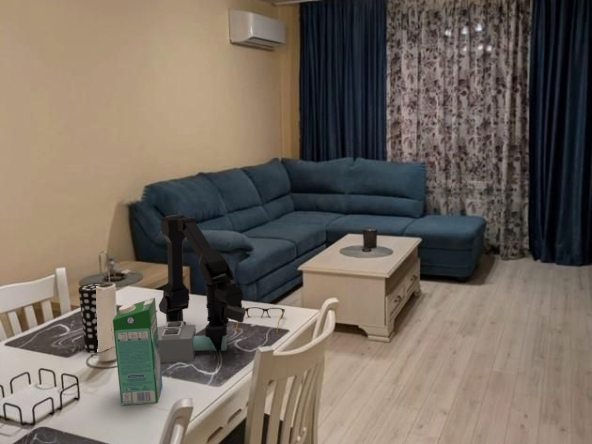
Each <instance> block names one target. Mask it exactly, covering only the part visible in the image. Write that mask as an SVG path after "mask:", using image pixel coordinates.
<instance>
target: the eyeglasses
mask: <svg viewBox="0 0 592 444" xmlns="http://www.w3.org/2000/svg"><path fill="white" fill-rule="evenodd" d="M245 309H246V315H247V317H248V318H249V319H250V318H252V317H251V316H250V315H249V310H250V309H260V310H262V315H261V316H260V318H262V317H263V316H264V313H265V312H266V314H267V316H268V318H269V319H270V318H271V316H270V314H269V310H280V311H281V314H280V317H279V320H278V322H277V326H276V327H277V329H276V333H278V332H279V330H278V329H279V324H280V321H281V319H283V318H284V314H285V311H286V309H285V308H280V307H269V308H262V307H255V306H252V307H246V308H245ZM238 324H239V322H238V321H236V328H235V332H237V331H238V326H239V325H238Z"/></svg>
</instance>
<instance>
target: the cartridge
mask: <svg viewBox="0 0 592 444" xmlns="http://www.w3.org/2000/svg"><path fill="white" fill-rule="evenodd" d="M193 348H194V351H195V352H199V351H212V352H218V351H217V350H216V348H215V347H214V345H213V343H212V341H211V340H210V338H209V337H205V335H196V336H193ZM222 351H227V335H226V336H223V338H222V346H221V351H220V352H222Z"/></svg>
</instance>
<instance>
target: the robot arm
mask: <svg viewBox="0 0 592 444" xmlns="http://www.w3.org/2000/svg"><path fill="white" fill-rule="evenodd" d="M160 229H161V235H162V236H163V237H164V238H165V240H166V243H167V245H166V247H167V282H166V283H167V284H166V285H165V287H164V288H163V293H162V298H161V300H160V302H159V304H158V309H159V312H161V313H163V314H165V320H166V321H165V322H166V323H167V322H173V321H184V310H186V309H189V304H190V290H189V288H188V287H186V285H185V283H184V261H183V260H184V257H183V256H184V254H183V253H184V252H183V251H184V250H183V249H184V248H183V245H184V243H183V242H184V240H185V239H186V240H187V242H188V243H189V245H190V247H191V248H192V250H193V251H194V252H195V254H196V256H197V258H198V267H199V271H200V272H201V273H200V274H201V276H203V279H202V283H205V291H206V294H205V295H206V310H207V319H206V320H207V322H208V323H207V324H206V325H205V329H204V336H205V337H209V338H210V340H211V341H212V343H213V345H214V347H215V348H216V350H217V351H216V352H222V351H221V346H222V338H223V336H226V337H227V335H228V323H229V322H230V321H229V320H231V321H232V320H233V321H236V322H238V323H240V324H241V323H243V321H244V319H245V316H246V314H247V312H246V309H245V307H244V306H243V301H242V300H244V293H243V290H242V289H241V288H240V287H238V286H237V283H236V282H232V281H234V280H235V277H234V273H233V271H232V269H231V267H230V265H229V263H228V261H227V259H226V257H224V255H223V254H221V252H219V251H217V250H215V249H214V248H213V247H212V246H211V244H210V242H209V241H208V240H207V238H206V236H205V235H204V233H203V232H202V230H201V228H200V227H199V225H198V222H197V219H196V218H195V217H194V216H185V215H184V214H183V213H179V214H174V215H167V216H163V218H162V219H161V220H160ZM184 325H187V322H186V321H184Z"/></svg>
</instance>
